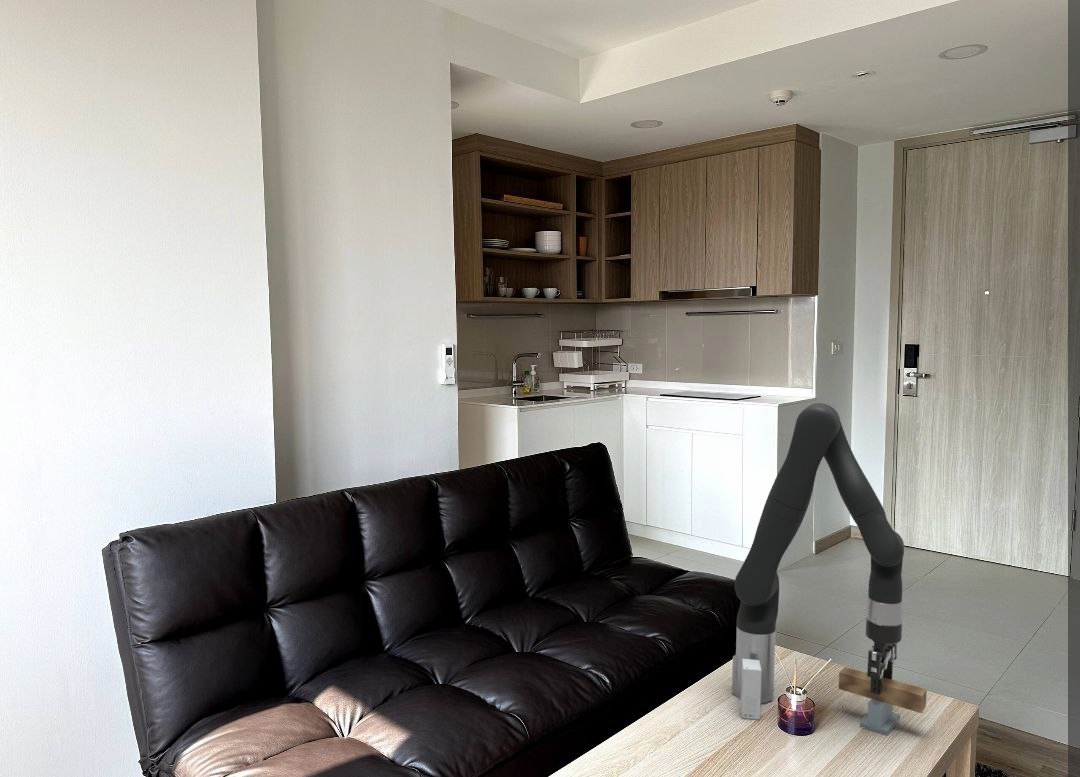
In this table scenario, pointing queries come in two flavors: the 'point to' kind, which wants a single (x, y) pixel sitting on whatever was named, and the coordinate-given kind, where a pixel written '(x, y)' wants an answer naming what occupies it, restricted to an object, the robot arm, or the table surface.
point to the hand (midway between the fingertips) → (881, 686)
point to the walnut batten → (883, 690)
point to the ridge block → (880, 717)
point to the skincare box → (750, 689)
